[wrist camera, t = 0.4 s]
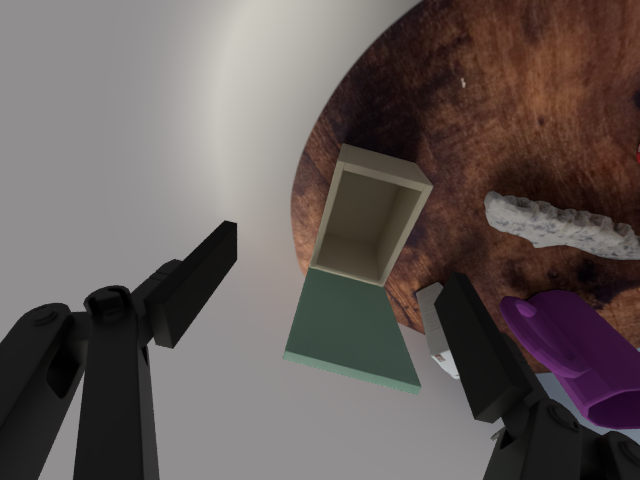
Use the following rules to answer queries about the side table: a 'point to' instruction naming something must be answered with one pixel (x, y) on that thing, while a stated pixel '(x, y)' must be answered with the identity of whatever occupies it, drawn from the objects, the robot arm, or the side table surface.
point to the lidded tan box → (368, 214)
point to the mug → (580, 355)
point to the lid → (350, 332)
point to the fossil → (561, 227)
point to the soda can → (638, 154)
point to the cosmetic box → (435, 329)
